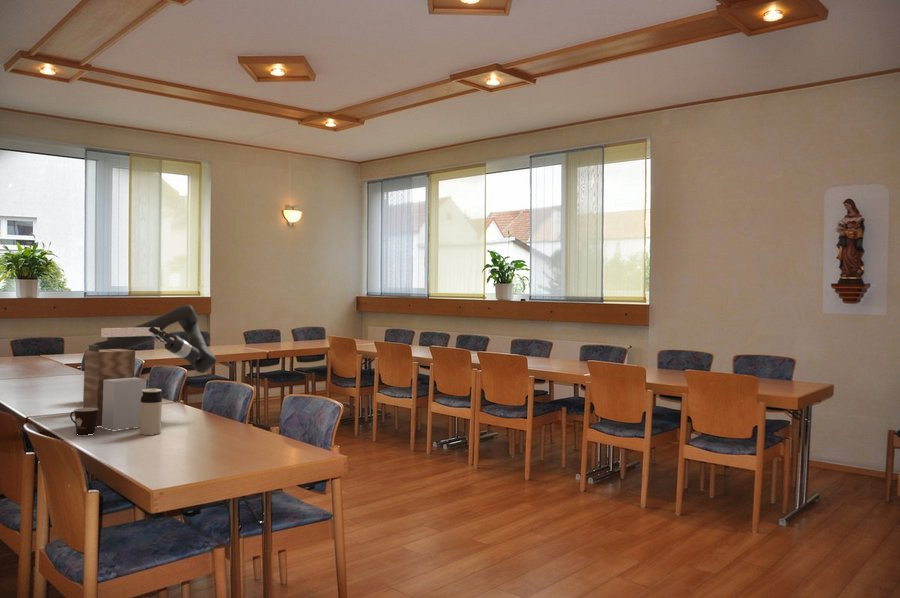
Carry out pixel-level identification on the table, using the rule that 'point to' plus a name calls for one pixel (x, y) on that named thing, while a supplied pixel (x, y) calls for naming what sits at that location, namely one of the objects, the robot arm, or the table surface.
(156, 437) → the table surface
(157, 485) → the table surface
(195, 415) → the table surface
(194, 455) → the table surface
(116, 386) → the grey block
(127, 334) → the light wooden bar
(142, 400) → the travel mug
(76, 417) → the coffee mug
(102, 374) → the walnut stand
